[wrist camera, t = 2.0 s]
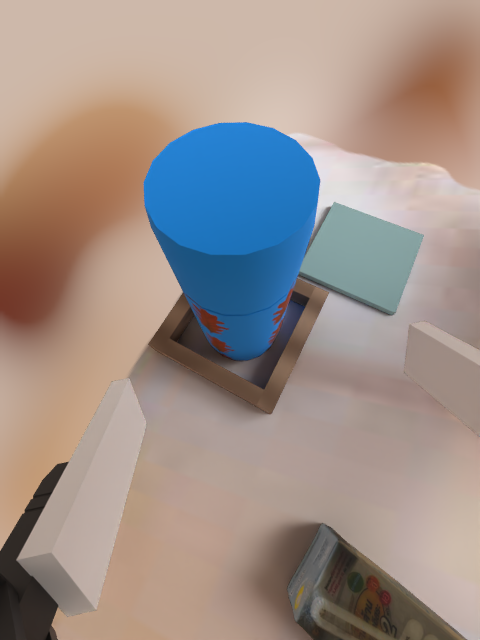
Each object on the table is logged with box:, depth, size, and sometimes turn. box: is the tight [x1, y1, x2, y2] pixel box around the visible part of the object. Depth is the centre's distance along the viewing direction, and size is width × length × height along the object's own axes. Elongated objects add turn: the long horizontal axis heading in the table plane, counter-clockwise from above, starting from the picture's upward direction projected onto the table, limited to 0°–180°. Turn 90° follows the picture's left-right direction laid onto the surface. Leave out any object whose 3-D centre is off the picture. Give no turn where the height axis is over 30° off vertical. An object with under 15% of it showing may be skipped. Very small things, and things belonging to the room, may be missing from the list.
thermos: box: [144, 122, 320, 360], centre depth 28 cm, size 11×11×25 cm
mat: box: [298, 202, 424, 315], centre depth 42 cm, size 15×15×1 cm
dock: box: [148, 279, 329, 414], centre depth 38 cm, size 18×18×3 cm
